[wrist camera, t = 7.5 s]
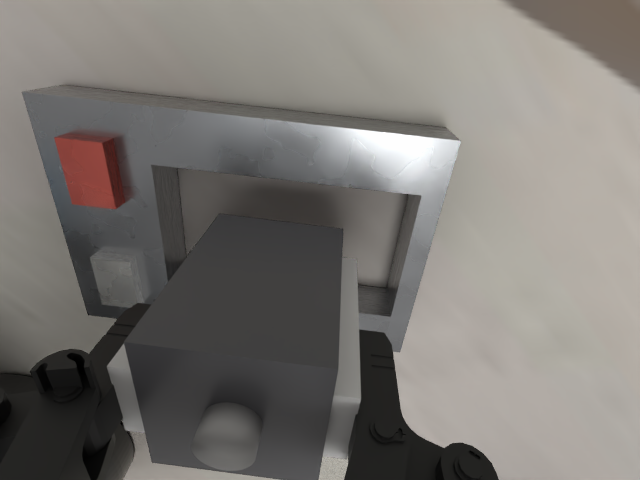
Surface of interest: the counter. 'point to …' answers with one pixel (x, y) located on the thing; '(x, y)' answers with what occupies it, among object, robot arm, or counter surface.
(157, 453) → the plug
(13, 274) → the counter surface
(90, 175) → the socket plate
